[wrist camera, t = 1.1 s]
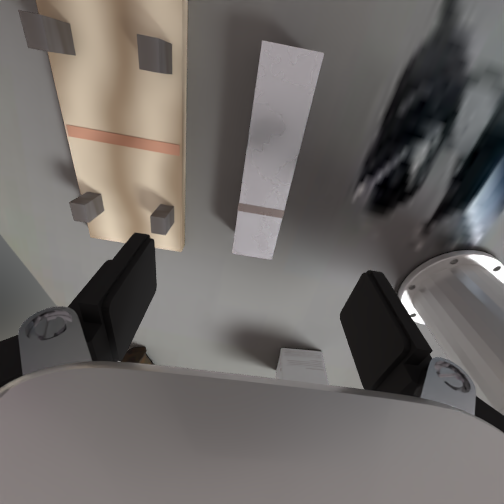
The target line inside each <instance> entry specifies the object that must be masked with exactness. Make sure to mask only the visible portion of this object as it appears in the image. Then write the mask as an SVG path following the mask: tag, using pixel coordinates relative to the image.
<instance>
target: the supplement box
mask: <svg viewBox="0 0 504 504" xmlns="http://www.w3.org/2000/svg"><path fill="white" fill-rule="evenodd" d="M276 379H283V380H292V381H300V382H308V383H316V384H324V385H329V383H328V378H327V373H326V368H325V363H324V358H323V353H322V352H321V351H312V350H302V349H290V348H281V351H280V357H279V362H278V366H277V369H276Z"/></svg>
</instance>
